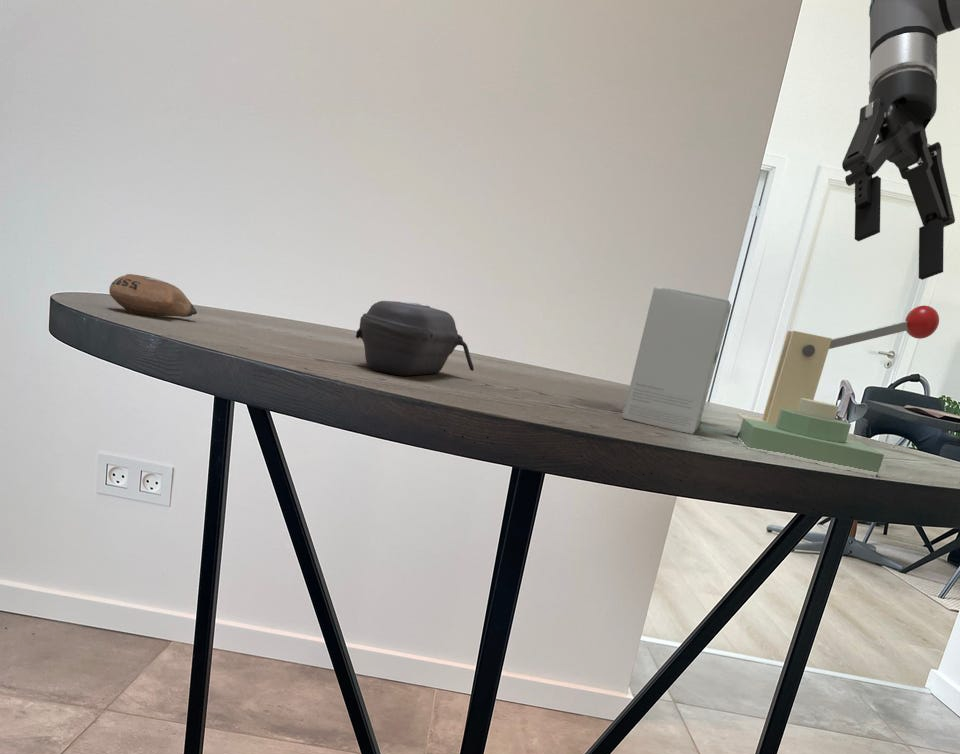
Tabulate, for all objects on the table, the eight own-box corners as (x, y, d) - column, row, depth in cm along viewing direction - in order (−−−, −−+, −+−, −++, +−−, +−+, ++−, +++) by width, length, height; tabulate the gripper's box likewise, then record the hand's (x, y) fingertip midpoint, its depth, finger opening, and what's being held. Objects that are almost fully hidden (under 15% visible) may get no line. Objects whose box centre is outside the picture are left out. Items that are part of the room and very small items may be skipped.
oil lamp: (193, 333, 100) (193, 328, 108) (202, 295, 99) (201, 292, 106) (103, 305, 97) (109, 301, 104) (111, 265, 96) (117, 264, 103)
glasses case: (379, 349, 107) (414, 285, 104) (457, 402, 107) (494, 340, 104) (323, 348, 90) (364, 273, 87) (417, 411, 90) (460, 337, 87)
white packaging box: (694, 435, 92) (730, 299, 88) (620, 419, 94) (652, 284, 90) (700, 430, 99) (733, 303, 95) (630, 415, 101) (660, 289, 97)
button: (829, 422, 94) (835, 404, 93) (836, 426, 90) (842, 407, 90) (792, 414, 94) (798, 396, 94) (798, 417, 91) (804, 399, 90)
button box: (854, 463, 98) (866, 424, 96) (876, 477, 88) (891, 434, 87) (737, 438, 99) (748, 399, 97) (747, 450, 89) (759, 406, 88)
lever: (935, 334, 112) (932, 302, 111) (944, 334, 108) (941, 301, 107) (792, 368, 115) (787, 337, 114) (797, 369, 112) (792, 337, 111)
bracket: (815, 440, 119) (845, 342, 115) (827, 447, 112) (859, 343, 108) (735, 423, 120) (762, 326, 116) (741, 429, 113) (771, 325, 109)
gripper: (927, 144, 126) (926, 299, 124) (812, 57, 111) (808, 231, 109) (985, 116, 120) (985, 279, 117) (872, 20, 105) (868, 203, 103)
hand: (900, 256), depth 113 cm, fingers open, 13 cm apart
